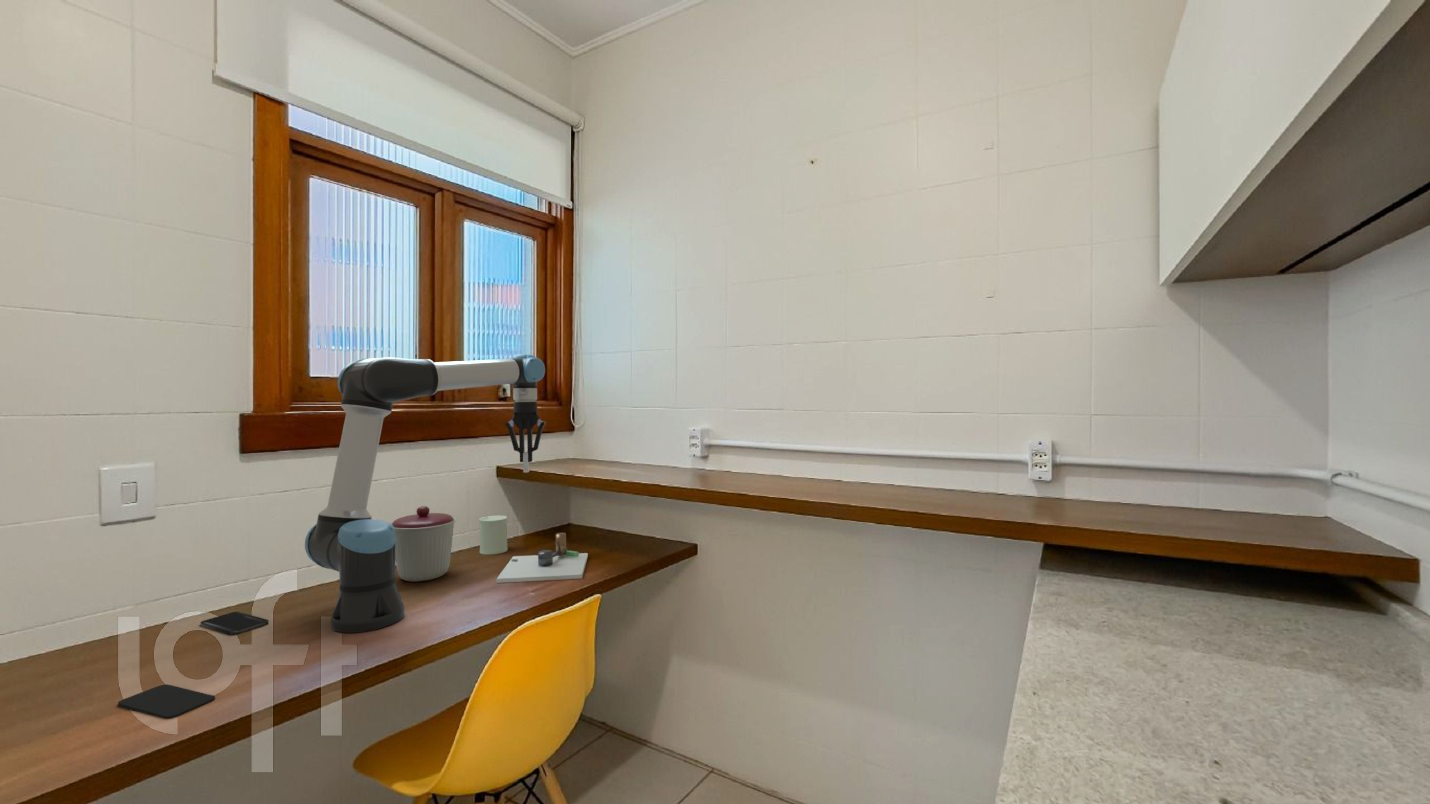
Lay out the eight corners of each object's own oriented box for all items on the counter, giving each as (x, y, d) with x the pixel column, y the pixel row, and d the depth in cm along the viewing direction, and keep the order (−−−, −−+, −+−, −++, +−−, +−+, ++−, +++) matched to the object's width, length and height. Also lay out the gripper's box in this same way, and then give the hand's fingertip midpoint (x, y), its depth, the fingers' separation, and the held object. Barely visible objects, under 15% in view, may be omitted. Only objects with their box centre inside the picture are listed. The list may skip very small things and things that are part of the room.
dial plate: (496, 582, 170) (496, 574, 170) (513, 559, 195) (513, 552, 195) (581, 578, 174) (581, 570, 174) (588, 556, 198) (587, 548, 198)
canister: (382, 576, 178) (381, 506, 178) (446, 564, 190) (444, 498, 190) (398, 590, 164) (397, 515, 164) (465, 577, 176) (464, 506, 176)
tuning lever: (547, 566, 181) (547, 542, 181) (535, 565, 182) (534, 541, 182) (571, 554, 195) (571, 532, 195) (560, 553, 196) (559, 531, 196)
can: (478, 549, 208) (478, 515, 208) (506, 546, 212) (505, 513, 212) (480, 556, 200) (479, 520, 199) (509, 552, 204) (508, 517, 203)
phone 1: (169, 717, 99) (114, 702, 104) (169, 722, 99) (114, 707, 104) (218, 696, 106) (164, 683, 111) (218, 701, 106) (165, 687, 111)
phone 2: (232, 632, 134) (198, 621, 141) (232, 637, 134) (198, 626, 141) (271, 620, 141) (237, 610, 148) (271, 625, 141) (237, 615, 148)
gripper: (502, 401, 192) (503, 474, 193) (543, 401, 194) (544, 472, 194) (507, 401, 200) (508, 471, 200) (547, 400, 202) (548, 470, 202)
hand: (526, 471), depth 197 cm, fingers closed
